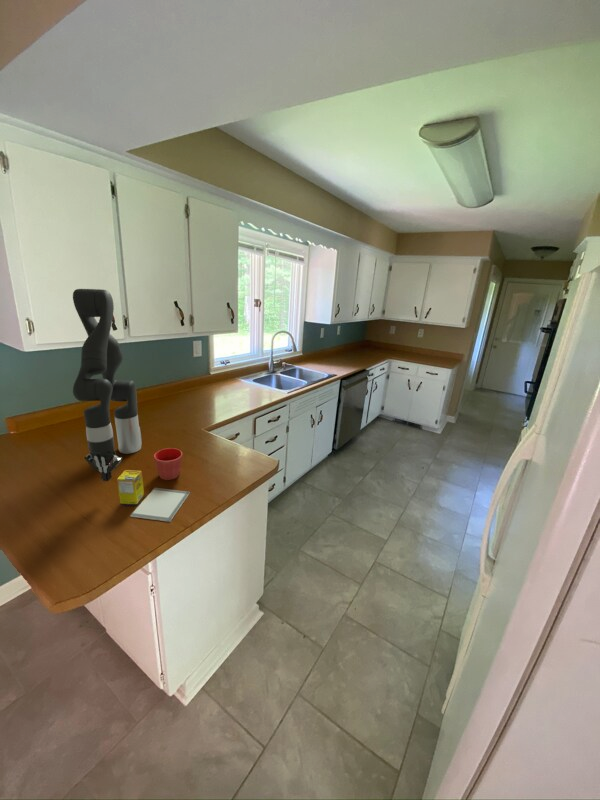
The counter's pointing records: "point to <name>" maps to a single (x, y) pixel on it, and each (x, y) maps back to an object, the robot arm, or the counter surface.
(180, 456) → the flower pot
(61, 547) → the counter surface
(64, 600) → the counter surface
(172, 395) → the counter surface
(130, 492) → the supplement box
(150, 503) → the mat
